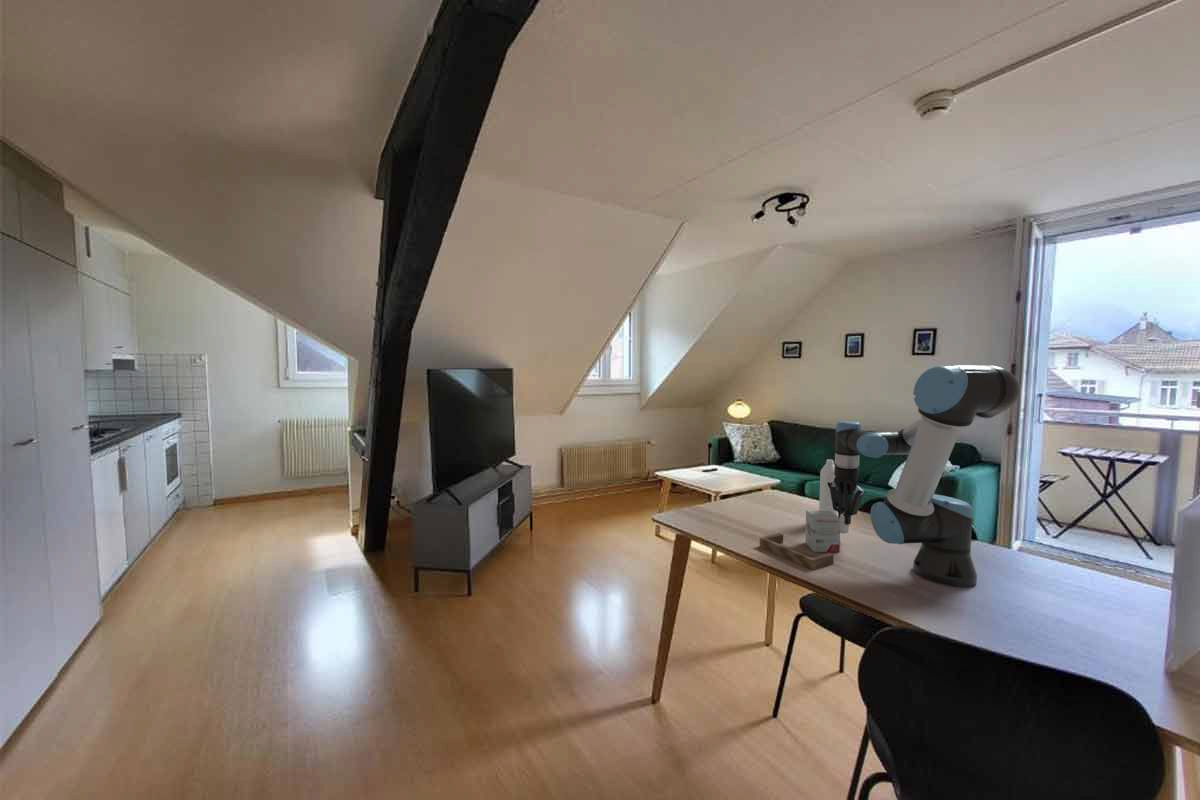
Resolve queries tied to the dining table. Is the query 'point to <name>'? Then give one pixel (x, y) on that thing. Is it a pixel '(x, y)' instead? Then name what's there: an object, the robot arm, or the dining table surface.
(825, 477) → the water bottle
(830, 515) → the ink box
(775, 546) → the fence
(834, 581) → the dining table surface
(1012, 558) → the dining table surface
